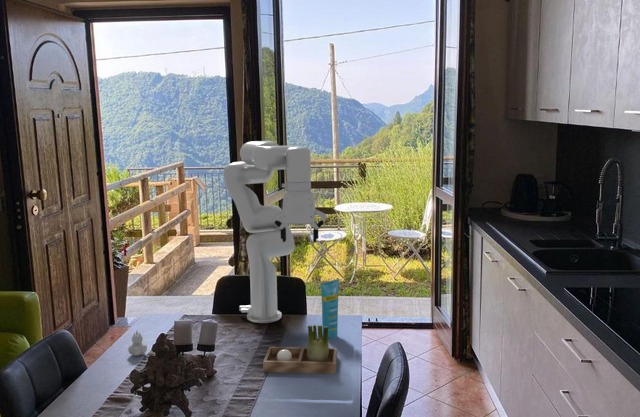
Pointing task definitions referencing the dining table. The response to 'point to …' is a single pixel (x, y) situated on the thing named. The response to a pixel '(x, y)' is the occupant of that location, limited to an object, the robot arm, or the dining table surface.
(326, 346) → the fennel bulb
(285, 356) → the cream egg
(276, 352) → the wooden compartment tray
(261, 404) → the dining table surface
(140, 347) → the grey figurine
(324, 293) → the tube
